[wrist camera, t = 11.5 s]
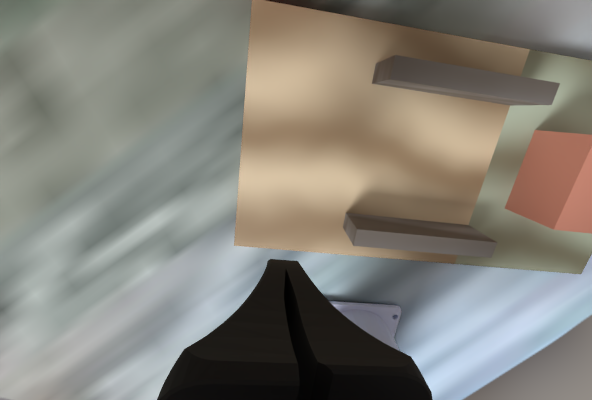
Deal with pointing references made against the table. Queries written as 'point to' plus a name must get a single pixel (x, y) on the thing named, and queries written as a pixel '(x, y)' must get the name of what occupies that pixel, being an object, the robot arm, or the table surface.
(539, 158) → the block
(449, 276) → the table surface
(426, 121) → the lane board
